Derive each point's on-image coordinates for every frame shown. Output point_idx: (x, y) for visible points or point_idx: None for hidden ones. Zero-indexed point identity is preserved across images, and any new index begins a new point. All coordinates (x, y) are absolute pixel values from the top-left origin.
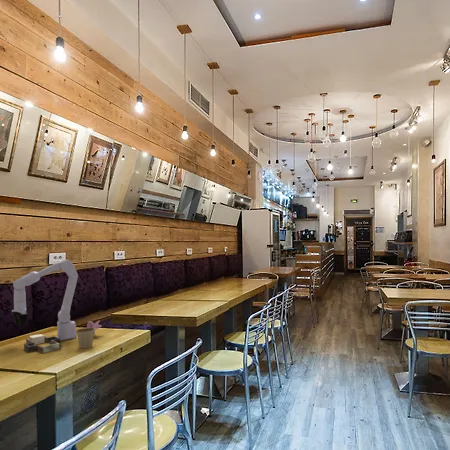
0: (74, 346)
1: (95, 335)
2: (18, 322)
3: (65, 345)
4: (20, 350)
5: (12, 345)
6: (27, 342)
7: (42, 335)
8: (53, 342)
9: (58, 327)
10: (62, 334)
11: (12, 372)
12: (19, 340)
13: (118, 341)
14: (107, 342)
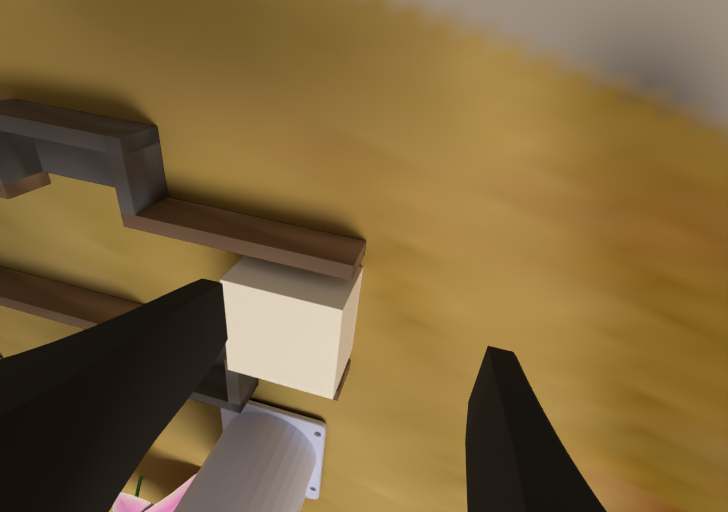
0: (16, 338)
1: (136, 490)
2: (482, 425)
3: (71, 333)
4: (124, 76)
5: (435, 125)
6: (308, 239)
7: (252, 370)
8: (66, 308)
9: (209, 500)
10: (216, 446)
11: None
12: (612, 286)
13: None
14: None
